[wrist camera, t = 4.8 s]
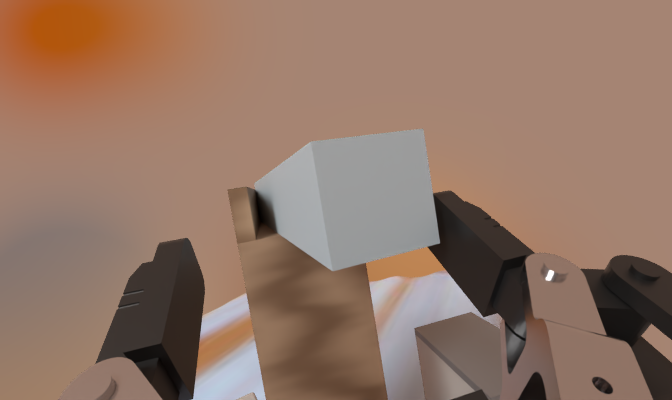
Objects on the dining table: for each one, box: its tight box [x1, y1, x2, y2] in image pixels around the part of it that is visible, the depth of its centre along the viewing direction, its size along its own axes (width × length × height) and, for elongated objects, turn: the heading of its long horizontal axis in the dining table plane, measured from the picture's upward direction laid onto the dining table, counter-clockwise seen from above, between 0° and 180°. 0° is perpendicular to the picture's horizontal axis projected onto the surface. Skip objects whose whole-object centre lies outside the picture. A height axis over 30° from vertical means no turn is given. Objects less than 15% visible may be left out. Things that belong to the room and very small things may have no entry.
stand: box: [228, 187, 388, 400], centre depth 25 cm, size 7×14×35 cm, turn 13°
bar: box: [254, 129, 440, 271], centre depth 19 cm, size 4×21×4 cm, turn 19°
